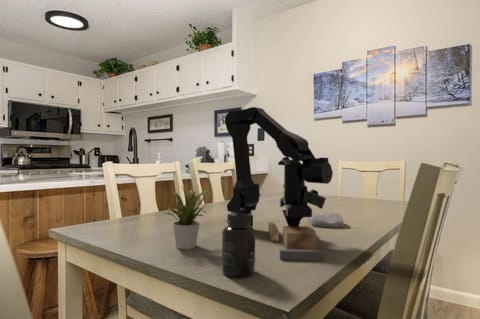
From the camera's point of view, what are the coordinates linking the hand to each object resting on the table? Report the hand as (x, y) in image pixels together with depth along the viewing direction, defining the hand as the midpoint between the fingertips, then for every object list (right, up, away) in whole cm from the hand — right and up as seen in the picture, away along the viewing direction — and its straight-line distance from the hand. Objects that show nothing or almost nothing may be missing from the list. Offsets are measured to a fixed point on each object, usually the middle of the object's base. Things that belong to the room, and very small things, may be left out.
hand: (293, 236), depth 85 cm
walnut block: (0, -2, -6) cm, 6 cm away
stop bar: (-1, -2, -15) cm, 15 cm away
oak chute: (0, -2, +6) cm, 7 cm away
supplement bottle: (-16, -2, -23) cm, 28 cm away
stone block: (+16, -2, +24) cm, 29 cm away
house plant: (-28, -1, -5) cm, 29 cm away
